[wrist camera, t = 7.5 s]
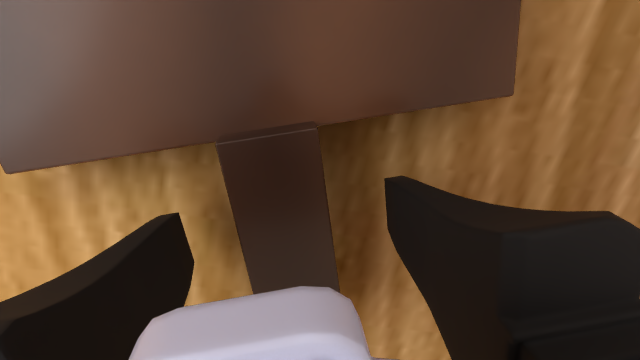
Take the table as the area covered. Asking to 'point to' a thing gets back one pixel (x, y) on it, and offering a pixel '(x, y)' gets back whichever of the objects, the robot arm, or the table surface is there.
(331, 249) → the walnut board
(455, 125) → the table surface
